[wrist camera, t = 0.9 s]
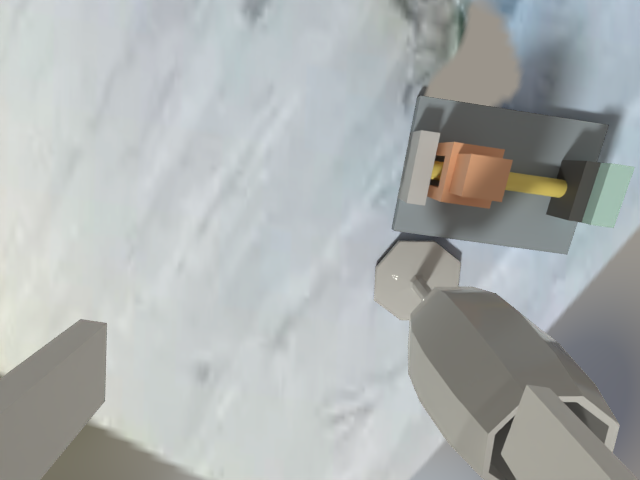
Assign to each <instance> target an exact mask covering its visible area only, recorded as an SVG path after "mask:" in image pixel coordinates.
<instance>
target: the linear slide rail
mask: <svg viewBox="0 0 640 480" xmlns="http://www.w3.org/2000/svg"><path fill="white" fill-rule="evenodd" d="M608 126H609V125H606V124H600V123H593V122H587V121H581V120H574V119H568V118H561V117H555V116H548V115H542V114H536V113H529V112H523V111H516V110H510V109H503V108H497V107H491V106H484V105H478V104H471V103H465V102H457V101H452V100H445V99H439V98H432V97H426V96H419V97H417V101H416V106H415V111H414V116H413V121H412V126H411V131H410V137H409V142H408V147H407V152H406V157H405V162H404V167H403V173H402V178H401V183H400V188H399V193H398V198H397V204H396V209H395V214H394V219H393V224H392V230H393V231H398V232H406V233H413V234H420V235H428V236H435V237H442V238H450V239H457V240H464V241H472V242H479V243H486V244H494V245H501V246H508V247H516V248H523V249H530V250H538V251H545V252H552V253H560V254H568V250H569V247H570V244H571V241H572V238H573V235H574V232H575V229H576V226H577V223H578V222H582V223H586V224H590V225H596V226H603V227H610V228H614V225H615V222H616V219H617V217H618V214H619V211H620V208H621V205H622V202H623V199H624V196H625V194H626V191H627V188H628V185H629V182H630V179H631V176H632V174H633V171H634V168H635V167H631V166H625V165H618V164H611V163H597V160H598V157H599V154H600V151H601V148H602V145H603V142H604V139H605V136H606V133H607V129H608ZM445 142H458V143H465V144H472V145H478V146H485V147H492V148H498V149H505V152H504V156H503V159H510V160H513V162H512V166H511V169H510V173H509V177H508V181H507V184H506V188H505V192H504V196H503V199H502V202H497V201H492V202H491V206H490V209H488V208H480V207H473V206H466V205H459V204H452V203H445V202H440V201H437V200H435V199H432V198H430V197H427V194H428V189H429V185H436V186H439V182H440V177H441V173H442V168H443V164H444V159H445V157H444V156H437V155H436V152H437V147H438V143H445Z"/></svg>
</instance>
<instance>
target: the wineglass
mask: <svg viewBox="0 0 640 480" xmlns="http://www.w3.org/2000/svg"><path fill="white" fill-rule="evenodd" d="M460 265H461V262H460V261H459V260H458V259H456V258H455V257H454V256H453V255H451V254H450V253H449V252H448V251H446V250H445V249H444V248H443V247H441V246H440V245H439V244H438V243H436V242H435V241H397V242H396V244H395V245H394V246H393V247H392V248H391V249H390V251H389V252H388V253H387V254H386V255H385V257H384V258H383V259H382V260H381V261H380V262H379V264H378V265H377V266H376V267H375V288H374V301H375V302H377V303H378V304H380V305H381V306H382V307H384V308H385V309H386V310H388V311H389V312H390V313H392V314H393V315H394V316H396V317H397V318H398V319H400V320H410V322H409V336H408V374H409V377H410V379H411V381H412V384H413V386H414V389H415V391H416V393H417V396H418V398H419V401H420V402H421V404H422V405H423V407H424V408H425V410H426V411H427V413H428V414H429V416H430V417H431V419H432V420H433V421H434V423H435V424H436V426H437V427H438V429H439V430H440V432H441V433H442V435H443V436H444V438H445V439H446V441H447V442H448V443H449V444H450V445H451V447H453V449H455V451H456V452H457V453H458V454H459V455H460V456H461V457H462V458H463V459H464V460H465V461H466V462H467V463H468V464H469V465H470V466H471V467H472V468H473V469H474V470H475V471H476V472H477V473H478V474H479V475H480V477H482V478H483V479H484V480H516V478H515V477H514V475H513V473H512V472H511V470H510V468H509V467H508V465H507V463H506V462H505V460H504V458H503V457H502V455H501V452H502V449H503V446H504V444H505V441H506V438H507V436H508V433H509V430H510V428H511V425H512V422H513V420H514V417H515V414H516V411H517V409H518V406H519V403H520V401H521V398H522V395H523V393H524V390H525V387H526V385H534V386H540V387H547V388H550V389H551V390H552V391H553V392H554V393H555V394H556V395H557V396H558V397H559V398H560V399H561V400H562V401H563V402H564V403H565V404H566V405H567V406H568V408H569V409H570V410H571V411H572V412H573V413H574V414H575V415H576V416H577V417H578V418H579V419H580V420H581V421H582V422H583V423H584V424H585V425H586V426H587V427H588V428H589V429H590V430H591V431H592V432H593V433H594V434H595V435H596V436H597V437H598V438H599V439H600V440H601V441H602V442H603V443H604V444H605V446H606V447H607V448H608V449H609V450H610V451H611V452H612V453H613V450H614V445H615V441H616V437H617V433H618V429H619V423H618V421H617V420H616V418H615V416H614V415H613V413H612V412H611V410H610V408H609V407H608V405H607V403H606V401H605V400H604V398H603V397H602V395H601V393H600V392H599V390H598V388H597V387H596V385H595V384H594V383H593V381H592V380H591V379H590V378H589V377H588V376H587V375H586V374H585V372H584V371H583V370H582V369H581V368H580V367H579V366H578V365H577V364H576V362H575V361H574V360H573V359H572V358H571V357H570V355H569V354H568V353H567V352H566V351H565V350H564V349H563V348H562V346H560V344H559V343H557V342H556V341H555V340H554V339H552V338H551V337H550V336H549V335H547V334H546V333H545V332H544V331H542V330H541V329H540V328H539V327H537V326H536V325H535V324H534V323H532V322H531V321H530V320H529V319H527V318H526V317H525V316H524V315H522V314H521V313H520V312H519V311H517V310H516V309H515V308H514V307H512V306H511V305H510V304H509V303H507V302H506V301H505V300H503V299H502V298H501V297H500V296H498V295H497V294H496V293H492V292H489V291H486V290H482V289H479V288H475V287H458V283H459V274H460Z"/></svg>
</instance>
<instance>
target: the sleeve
mask: <svg viewBox="0 0 640 480" xmlns="http://www.w3.org/2000/svg"><path fill="white" fill-rule="evenodd" d="M504 152H505V149H498V148H492V147H485V146H478V145H472V144H465V143H458V142H445V143H438V147H437V152H436V155H437V156H444V157H445V159H444V164H443V168H442V173H441V177H440V182H439V186H436V185H429V189H428V194H427V197H430V198H432V199H435V200H437V201H440V202H445V203H452V204H459V205H466V206H473V207H480V208H488V209H490V206H491V202H492V201H497V202H502V199H503V196H504V192H505V188H506V184H507V181H508V177H509V173H510V169H511V166H512V162H513V160H510V159H503V156H504Z"/></svg>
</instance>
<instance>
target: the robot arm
mask: <svg viewBox="0 0 640 480" xmlns="http://www.w3.org/2000/svg"><path fill="white" fill-rule="evenodd" d="M106 340H107V323H103V322H96V321H89V320H82V319H80V320H79V321H77V322H76V323H75V324H73V325H72V326H71V327H69V328H68V329H67V330H65V331H64V332H63V333H61V334H60V335H59V336H57V337H56V338H54V339H53V340H52V341H50V342H49V343H48V344H46V345H45V346H44V347H42V348H41V349H40V350H38V351H37V352H35V353H34V354H33V355H31V356H30V357H29V358H27V359H26V360H25V361H23V362H22V363H21V364H19V365H18V366H16V367H15V368H14V369H12V370H11V371H10V372H8V373H7V374H6V375H4V376H3V377H2V378H0V480H40V479H41V478H42V477H43V475H44V474H45V473H46V472H47V471H48V469H49V468H50V467H51V466H52V465H53V463H54V462H55V461H56V460H57V459H58V457H59V456H60V455H61V454H62V453H63V451H64V450H65V449H66V448H67V446H68V445H69V444H70V443H71V442H72V440H73V439H74V438H75V437H76V436H77V434H78V433H79V432H80V431H81V429H82V428H83V427H84V426H85V425H86V423H87V422H88V421H89V420H90V419H91V417H92V416H93V415H94V414H95V412H96V411H97V410H98V409H99V408H100V406H101V405H102V404H103V403H104V402H105V380H106ZM501 455H502V457H503V458H504V460H505V462H506V463H507V465H508V467H509V468H510V470H511V472H512V473H513V475H514V477H515V478H516V480H638V479H637V477H636V476H635V475H634V474H633V473H632V472H631V471H630V470H629V469H628V468H627V467H626V466H625V465H624V464H623V463H622V462H621V461H620V460H619V459H618V458H617V457H616V456H615V455H614V454H613V453H612V452H611V451H610V450H609V449H608V448H607V447H606V446H605V444H604V443H603V442H602V441H601V440H600V439H599V438H598V437H597V436H596V435H595V434H594V433H593V432H592V431H591V430H590V429H589V428H588V427H587V426H586V425H585V424H584V423H583V422H582V421H581V420H580V419H579V418H578V417H577V416H576V415H575V414H574V413H573V412H572V411H571V410H570V409H569V408H568V406H567V405H566V404H565V403H564V402H563V401H562V400H561V399H560V398H559V397H558V396H557V395H556V394H555V393H554V392H553V391H552V390H551V389H550V388H547V387H540V386H534V385H526V387H525V390H524V393H523V395H522V398H521V401H520V403H519V406H518V409H517V411H516V414H515V417H514V420H513V422H512V425H511V428H510V430H509V433H508V436H507V438H506V441H505V444H504V446H503V449H502V452H501Z"/></svg>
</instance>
